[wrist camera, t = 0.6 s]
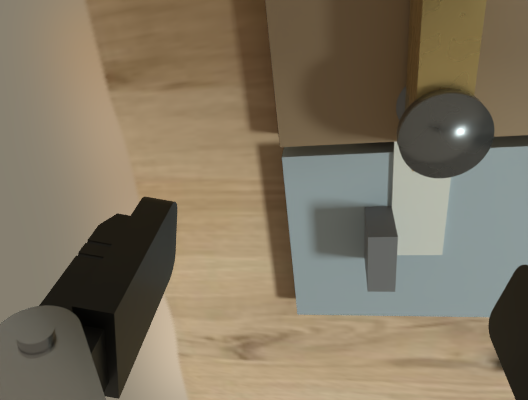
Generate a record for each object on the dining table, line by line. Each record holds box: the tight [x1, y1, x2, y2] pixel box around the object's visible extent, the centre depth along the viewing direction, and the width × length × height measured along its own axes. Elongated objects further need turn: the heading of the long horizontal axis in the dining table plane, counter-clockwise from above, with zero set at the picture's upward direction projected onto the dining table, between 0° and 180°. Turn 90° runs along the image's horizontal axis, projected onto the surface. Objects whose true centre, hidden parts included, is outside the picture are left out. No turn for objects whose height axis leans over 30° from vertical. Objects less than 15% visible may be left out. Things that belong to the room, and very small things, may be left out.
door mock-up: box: [265, 0, 528, 317], centre depth 31 cm, size 20×31×6 cm, turn 6°
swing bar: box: [397, 0, 495, 178], centre depth 24 cm, size 16×5×5 cm, turn 6°
